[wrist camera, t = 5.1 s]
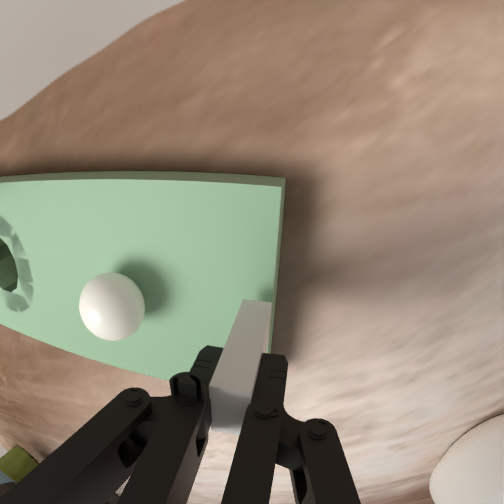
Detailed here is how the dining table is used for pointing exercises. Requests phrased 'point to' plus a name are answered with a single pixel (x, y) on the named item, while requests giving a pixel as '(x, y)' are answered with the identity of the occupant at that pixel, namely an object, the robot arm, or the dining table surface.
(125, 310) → the ball
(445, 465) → the teapot
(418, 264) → the dining table surface
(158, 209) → the putting board
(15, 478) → the plant pot
